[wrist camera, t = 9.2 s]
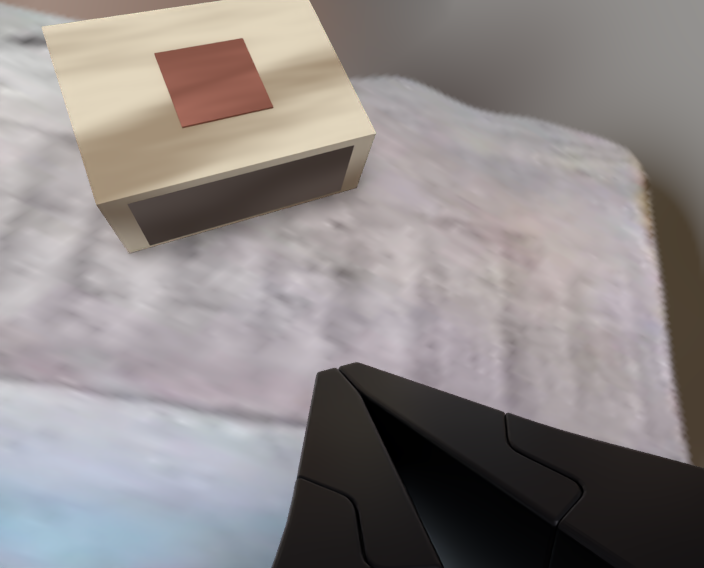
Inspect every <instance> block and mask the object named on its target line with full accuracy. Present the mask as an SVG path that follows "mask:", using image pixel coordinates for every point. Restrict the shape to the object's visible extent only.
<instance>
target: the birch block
mask: <svg viewBox="0 0 704 568" xmlns="http://www.w3.org/2000/svg"><path fill="white" fill-rule="evenodd" d="M42 30H43V33H44V36H45V40H46V43H47V46H48V49H49V53H50V56H51V59H52V62H53V66H54V69H55V72H56V75H57V79H58V82H59V85H60V88H61V92H62V95H63V98H64V101H65V105H66V108H67V111H68V114H69V118H70V121H71V124H72V127H73V130H74V134H75V137H76V140H77V143H78V147H79V150H80V153H81V156H82V160H83V163H84V166H85V169H86V173H87V176H88V179H89V182H90V186H91V189H92V192H93V195H94V199H95V202H96V205H97V206H98V208H99V209H100V211H101V212H102V214H103V215H104V217H105V218H106V220H107V221H108V223H109V224H110V226H111V227H112V229H113V230H114V232H115V233H116V235H117V236H118V238H119V239H120V241H121V242H122V244H123V245H124V247H125V248H126V249H127V251H128V252H129V253H133V252H136V251H140V250H143V249H147V248H150V247H153V246H157V245H160V244H164V243H167V242H171V241H174V240H178V239H181V238H185V237H188V236H192V235H195V234H198V233H202V232H205V231H209V230H212V229H216V228H219V227H223V226H226V225H230V224H233V223H237V222H240V221H243V220H247V219H250V218H254V217H257V216H261V215H264V214H268V213H271V212H275V211H278V210H281V209H285V208H288V207H292V206H295V205H299V204H302V203H306V202H309V201H313V200H316V199H320V198H323V197H326V196H330V195H333V194H337V193H340V192H344V191H347V190H351V189H354V188H357V185H358V182H359V179H360V177H361V174H362V171H363V168H364V166H365V163H366V160H367V157H368V154H369V152H370V149H371V146H372V143H373V140H374V138H375V135H376V132H375V130H374V128H373V126H372V124H371V122H370V120H369V118H368V116H367V114H366V112H365V110H364V108H363V106H362V104H361V102H360V100H359V98H358V96H357V94H356V92H355V90H354V88H353V86H352V84H351V82H350V80H349V78H348V76H347V74H346V73H345V71H344V69H343V67H342V65H341V63H340V61H339V59H338V57H337V55H336V53H335V51H334V49H333V47H332V45H331V43H330V41H329V39H328V37H327V35H326V33H325V31H324V29H323V27H322V25H321V23H320V21H319V19H318V17H317V15H316V13H315V11H314V9H313V7H312V5H311V3H310V1H309V0H222V1H215V2H208V3H202V4H194V5H188V6H181V7H174V8H167V9H160V10H154V11H146V12H140V13H133V14H126V15H120V16H112V17H105V18H99V19H92V20H85V21H78V22H71V23H64V24H57V25H50V26H44V27H42Z"/></svg>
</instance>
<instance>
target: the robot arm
mask: <svg viewBox="0 0 704 568" xmlns="http://www.w3.org/2000/svg"><path fill="white" fill-rule="evenodd" d="M271 568H704V468H701V467H697V466H694V465H690V464H686V463H682V462H678V461H675V460H671V459H667V458H663V457H660V456H656V455H652V454H648V453H644V452H641V451H637V450H633V449H629V448H625V447H622V446H618V445H614V444H610V443H607V442H603V441H599V440H595V439H592V438H588V437H585V436H581V435H577V434H574V433H570V432H567V431H563V430H560V429H557V428H553V427H550V426H547V425H544V424H541V423H538V422H534V421H531V420H528V419H525V418H522V417H519V416H517V415H514V414H511V413H506V414H505V413H504V412H502V411H500V410H497V409H494V408H491V407H488V406H485V405H482V404H479V403H476V402H473V401H470V400H467V399H464V398H461V397H459V396H456V395H453V394H450V393H447V392H444V391H441V390H438V389H435V388H432V387H429V386H426V385H423V384H420V383H417V382H414V381H412V380H409V379H406V378H403V377H400V376H397V375H394V374H391V373H388V372H385V371H382V370H379V369H376V368H373V367H370V366H368V365H365V364H362V363H358V362H355V363H351V364H347V365H343V366H341V367H339V369H337V368H332V369H328V370H324V371H320V372H318V373H317V375H316V379H315V385H314V390H313V395H312V400H311V406H310V411H309V416H308V421H307V427H306V432H305V437H304V442H303V448H302V453H301V458H300V463H299V469H298V474H297V480H296V482H295V487H294V492H293V497H292V501H291V506H290V510H289V514H288V518H287V522H286V526H285V529H284V532H283V535H282V538H281V541H280V544H279V547H278V550H277V553H276V556H275V559H274V562H273V565H272V567H271Z"/></svg>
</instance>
